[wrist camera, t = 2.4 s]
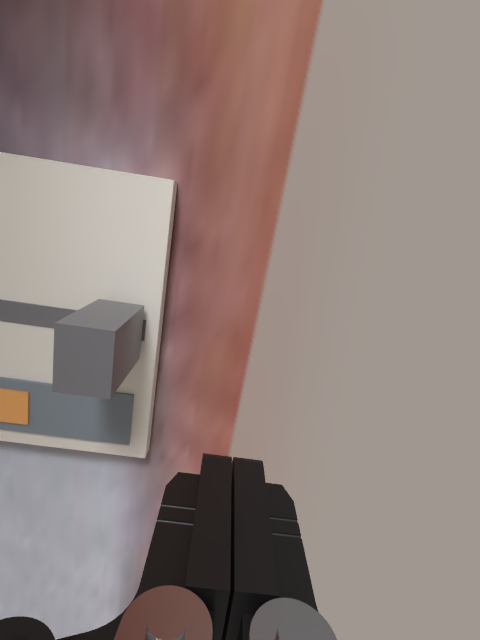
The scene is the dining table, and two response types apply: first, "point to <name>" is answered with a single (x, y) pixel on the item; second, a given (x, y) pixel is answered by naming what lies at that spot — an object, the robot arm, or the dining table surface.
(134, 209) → the switch panel
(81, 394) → the slider
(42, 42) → the dining table surface
